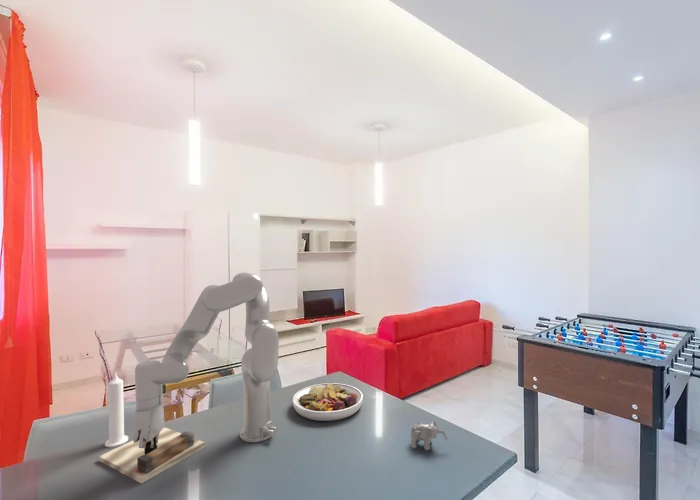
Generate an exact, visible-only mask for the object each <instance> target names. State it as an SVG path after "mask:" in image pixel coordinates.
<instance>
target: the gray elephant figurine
mask: <svg viewBox="0 0 700 500" xmlns="http://www.w3.org/2000/svg"><path fill="white" fill-rule="evenodd" d="M410 428H411V429H410V431H411V432H410V438H411V439H410V440H411V448H412V449H413V450H415V449H417V442H418V441H422V442H423V444H424V446H423V447H424V448H423V449H424V451H426V452H427V451H429V450H430V449H431V448H430V447H431V446H430V444H432V442H433V439H437V436H438V434H442V435H443V437H444V439H445V441H448V437H447V435H446V433H445V431H443V430H441V429H438V428H437V421H435V420H433V421H431V423H429V424H428V423H427V424H424V423H423V422H418V423H417V424H413V425H412V426H410Z"/></svg>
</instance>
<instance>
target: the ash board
mask: <svg viewBox="0 0 700 500" xmlns="http://www.w3.org/2000/svg"><path fill="white" fill-rule="evenodd" d="M181 434H182V432H179V431H177V430H173V429H171V428H168V427H165V426H164V428H163V429H162V430H161V432H160V433H159V436H158V443H157V448H158V447H160V446H162V445H164V444H165V443H167V442H169V441H171V440H172V439H174V438H176V437H178V436H179V435H181ZM204 448H206V442H205V441H202V440H200V439H196V438H195V437H194V444H193V445H192V446H190V447H188V448H186V449H184V450H183V451H181V452H180V453H178V454H176V455H175V456H173V457H172V458H170V459H168V460H167V461H165V462H164V463H162V464H160V465H159V466H157V467H156V468H154V469H153V470H152V471H150V472H148V473H147V474H146V473H143V472H140V471H138V466H137V458H138V457H140V456H142V455H145V450H144V448H139V441H138V442H136V443H134V442H133V440H131V441H129V442H126V443H124V444H122V445H120V446H117V447H115V448H114V449H112V450H110V451H108V452H105V453H103V454H101V455H99V456H98V461H99V462H101V463H102V464H104V465H106V466H107V467H110V468H112V469H113V470H116V471H117V472H119V473H121V474H123V475H125V476H127V477H128V478H130V479H132V480H134V481H136V482H137V483H139V484H143V483H145V482H147V481H149V480H150V479H152V478H154V477H156V476H157V475H159V474H161V473H162V472H164V471H166V470H167V469H170V468H171V467H173V466H175V465H177V464H178V463H179V462H182V461H183V460H185V459H186V458H188V457H190V456H193V455H194V454H195V453H197V452H199V451H200V450H202V449H204Z"/></svg>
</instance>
